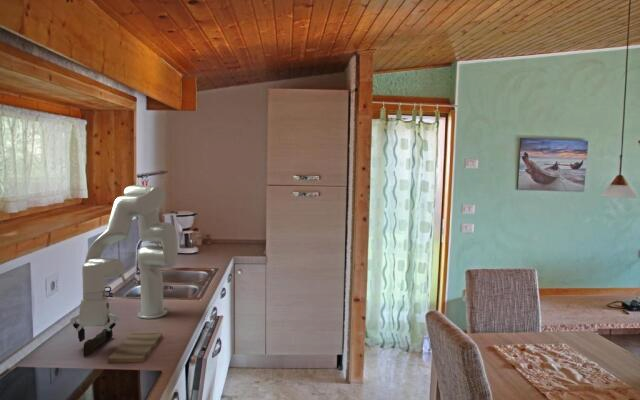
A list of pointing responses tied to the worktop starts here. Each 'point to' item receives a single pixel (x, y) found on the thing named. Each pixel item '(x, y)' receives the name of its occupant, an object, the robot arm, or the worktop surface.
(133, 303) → the worktop surface
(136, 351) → the board
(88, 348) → the hand tool
